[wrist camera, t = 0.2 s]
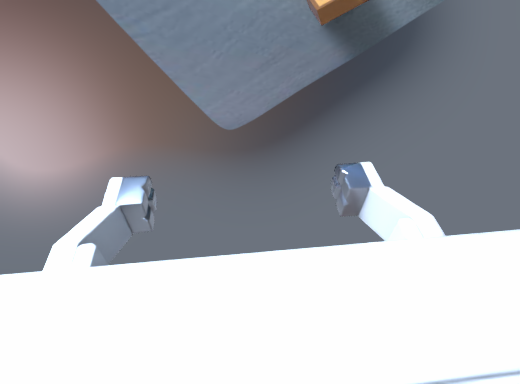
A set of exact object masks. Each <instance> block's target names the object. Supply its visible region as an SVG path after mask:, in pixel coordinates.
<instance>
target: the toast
mask: <svg viewBox="0 0 520 384" xmlns="http://www.w3.org/2000/svg"><path fill="white" fill-rule="evenodd" d="M367 1H368V0H307V2H308V5H309V8H310V9H311V10H312V12H313V13H314V15H315V16H316V18H317V19H318V21H319V22H320V24H321V25H324V24H326V23H328V22H329V21H331V20H333V19H335V18H337V17H339V16H341V15H342V14H344V13H346V12H348V11H350V10H352V9H354V8H355V7H357V6H359V5H361V4H363V3H365V2H367Z"/></svg>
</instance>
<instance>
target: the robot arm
mask: <svg viewBox="0 0 520 384" xmlns="http://www.w3.org/2000/svg"><path fill="white" fill-rule="evenodd" d="M334 171H335V174H336V175H335V176H334V177H333V178H332V181H331V191H332V195H333V198H334V199H336V200H337V204H336V206H337V209H338V211H339V214H340V216H358V217H360V218H361V219H362V220H363V221H364V222H365V223H366V224H367V225H368V226H369V227H371V228H372V229H373V230H374V231H375V232H376V233H377V234H378V235H379V236H380V237H382V238H383V239H384V240H385V241H384V242H372V243H361V244H350V245H338V246H326V247H315V248H303V249H292V250H281V251H269V252H257V253H246V254H236V255H223V256H212V257H201V258H189V259H178V260H166V261H155V262H143V263H132V264H120V265H108V264H109V263H110V262H111V261H112V259H113V258H114V257H115V256H116V254H117V253H118V252H119V251H120V249H121V248H122V247H123V246H124V245H125V243H126V242H127V241H128V240H129V238H130V237H131V236H132V235H133V234H132V233H140V232H149V231H153V227H154V220H155V218H154V215H153V213H154V212H155V211H156V205H157V203H156V194H155V190H154V189H153V188H151V184H152V181H151V179H150V177H149V176H135V177H119V178H118V177H117V178H111V179H110V181H109V184H108V187H107V191H106V194H105V197H104V200H103V204H102V207H97V208H96V209H95V210H94V211H93V212H92V213H91V214H89V215H88V216H87V217H86V218H85V219H84V220H82V221H81V222H80V223H79V224H78V225H76V226H75V227H74V228H73V229H72V230H71V231H69V232H68V233H67V234H66V235H65V236H64V237H62V238H61V239H60V240H59V241H58V242H56V243H55V244H54V245H53V247H52V249H51V252H50V254H49V257H48V259H47V262H46V264H45V267H44V269H43V271H40V272H29V273H19V274H18V273H17V274H6V275H0V384H520V230H509V231H498V232H487V233H476V234H464V235H452V236H445V234H444V233H443V231H442V229H441V228H440V226H439V225H438V223H437V222H436V220H435V218H434V217H433V215H431V214H430V213H428V212H426V211H425V210H423V209H422V208H420V207H418V206H417V205H416V204H414V203H412V202H411V201H409V200H408V199H406V198H405V197H403V196H401V195H400V194H398V193H397V192H395V191H394V190H392V189H390V188H389V187H384V185H383V183H382V181H381V179H380V178H379V176H378V174H377V172H376V171H375V169H374V167H373V165H372V163H370V162H361V163H348V164H337V165H336V167H335V170H334Z"/></svg>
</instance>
